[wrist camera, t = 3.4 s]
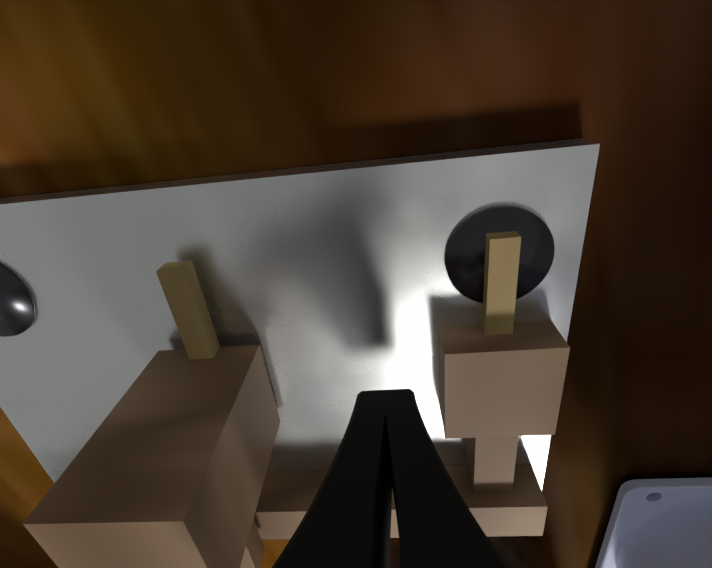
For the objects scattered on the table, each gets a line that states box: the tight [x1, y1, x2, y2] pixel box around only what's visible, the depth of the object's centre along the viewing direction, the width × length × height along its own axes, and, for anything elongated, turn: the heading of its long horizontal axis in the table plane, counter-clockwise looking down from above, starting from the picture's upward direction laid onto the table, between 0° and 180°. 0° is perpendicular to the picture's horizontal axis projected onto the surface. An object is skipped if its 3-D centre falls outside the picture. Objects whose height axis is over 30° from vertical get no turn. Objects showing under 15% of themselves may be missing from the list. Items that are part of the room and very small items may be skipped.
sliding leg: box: [23, 261, 280, 568], centre depth 10 cm, size 3×10×5 cm, turn 6°
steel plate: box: [0, 138, 600, 491], centre depth 13 cm, size 18×12×1 cm, turn 96°
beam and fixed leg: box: [254, 231, 570, 539], centre depth 12 cm, size 17×10×2 cm, turn 96°
